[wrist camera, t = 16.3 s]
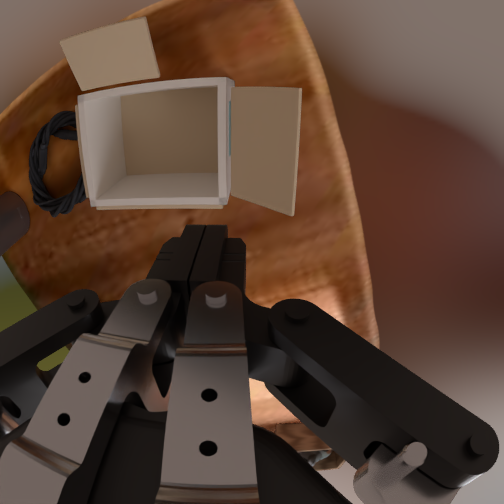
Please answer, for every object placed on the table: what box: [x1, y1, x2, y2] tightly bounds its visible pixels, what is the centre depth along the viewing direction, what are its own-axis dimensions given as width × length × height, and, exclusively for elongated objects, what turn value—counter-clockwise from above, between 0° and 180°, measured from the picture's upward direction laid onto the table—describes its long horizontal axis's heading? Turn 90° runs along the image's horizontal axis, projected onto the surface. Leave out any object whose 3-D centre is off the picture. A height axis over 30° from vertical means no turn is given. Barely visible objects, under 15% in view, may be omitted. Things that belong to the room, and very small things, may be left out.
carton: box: [75, 77, 235, 210], centre depth 32 cm, size 17×14×10 cm
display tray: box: [275, 423, 345, 471], centre depth 75 cm, size 23×23×9 cm
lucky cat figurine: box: [298, 449, 333, 467], centre depth 75 cm, size 15×12×14 cm
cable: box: [29, 111, 86, 217], centre depth 36 cm, size 17×14×4 cm
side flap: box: [59, 16, 160, 91], centre depth 21 cm, size 9×7×1 cm
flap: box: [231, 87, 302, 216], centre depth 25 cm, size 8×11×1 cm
